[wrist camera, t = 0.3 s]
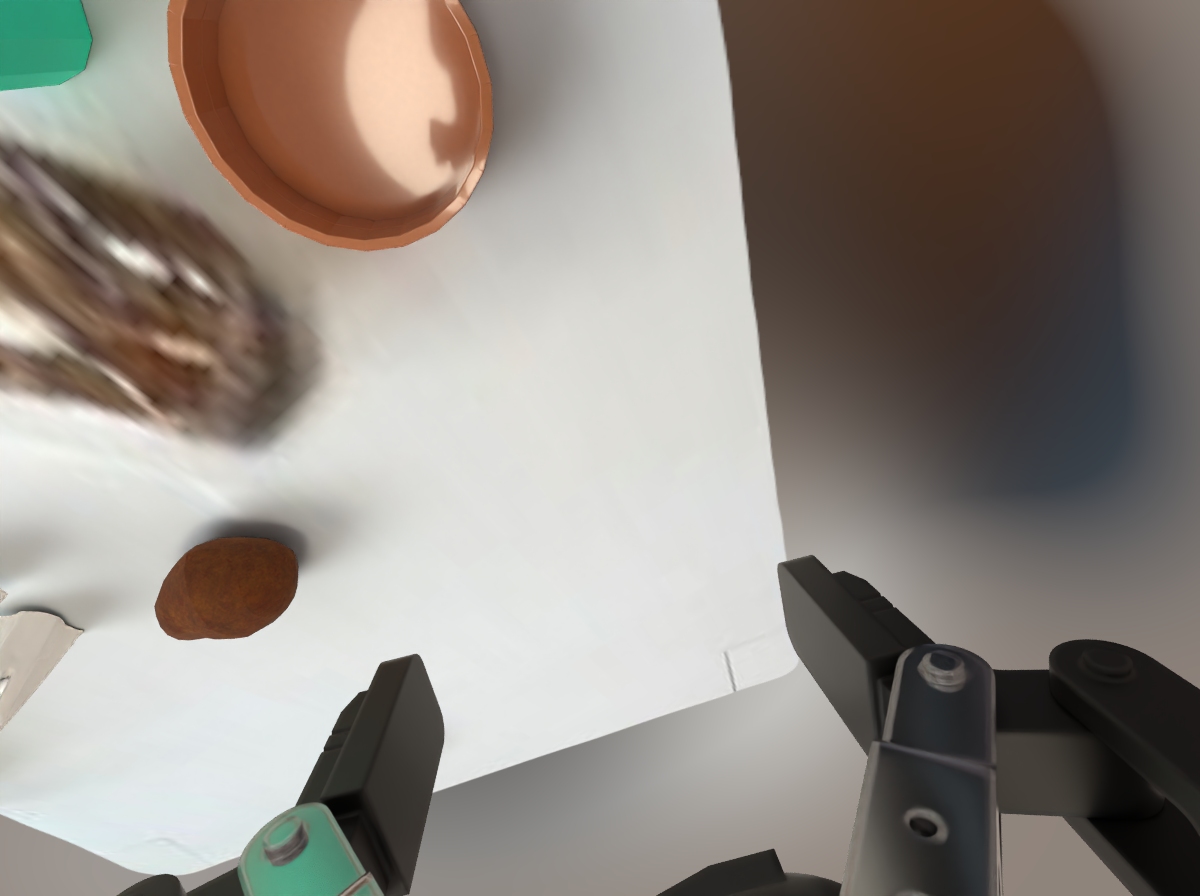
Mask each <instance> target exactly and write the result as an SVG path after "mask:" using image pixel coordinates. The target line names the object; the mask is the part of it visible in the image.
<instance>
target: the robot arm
mask: <svg viewBox="0 0 1200 896" xmlns="http://www.w3.org/2000/svg"><path fill="white" fill-rule="evenodd" d="M778 578H779V584H780V591H781V597H782V603H783V609H784V616H785V622H786V627H787V631H788V634H789V637H790V640H791V643H792V645H793V647H794V649H795V651H796V653H797V655H798V656H799V658H800V659H801V660H802V662H803V663H804V665H805V666H806V668H807V669H808V671H809V672H810V673H811V675H812V676H813V678H814V679H815V681H816V682H817V683H818V685H819V686H820V688H821V689H822V691H823V692H824V694H825V695H826V697H827V698H828V699H829V701H830V703H831V704H832V705H833V706H834V708H835V710H836V711H837V713H838V714H839V715H840V717H841V718H842V720H843V721H844V723H845V724H846V725H847V727H848V729H849V730H850V732H851V733H852V734H853V736H854V737H855V739H856V740H857V742H858V743H859V745H860V746H861V747H862V749H863V750H864V752H865V753H866V755H867V756H868V761H867V766H866V770H865V775H864V780H863V785H862V789H861V794H860V799H859V804H858V809H857V813H856V818H855V823H854V828H853V833H852V838H851V843H850V847H849V853H848V857H847V862H846V866H845V871H844V876H843V881H842V884H840V883H837V882H835V881H832V880H829V879H825V878H821V877H818V876H814V875H808V874H800V873H784V872H783V870H782V867H781V864H780V862H779V860H778V857H777V855H776V852H775V850H774V849H771V850H767V851H763V852H759V853H756V854H752V855H748V856H744V857H740V858H737V859H733V860H729V861H725V862H721V863H718V864H714V865H710V866H708V867H706V868H704V869H702V870H701V871H699V872H697V873H696V874H694V875H692V876H690V877H688V878H687V879H685V880H683V881H681V882H680V883H678V884H676V885H674V886H673V887H671V888H669V889H667V890H666V891H664V892H662V893H660V894H658V895H657V896H1003V862H1002V861H1003V860H1002V859H1003V858H1002V815H1001V813H1004V814H1024V815H1046V816H1062V817H1063V818H1064V819H1065V820H1066V821H1067V822H1068V824H1069V825H1070V826H1071V827H1072V828H1073V829H1074V830H1075V831H1076V832H1077V834H1078V835H1079V836H1080V837H1081V838H1082V839H1083V840H1084V841H1085V842H1086V844H1087V845H1088V846H1089V847H1090V848H1091V849H1092V850H1093V851H1094V852H1095V854H1096V855H1097V856H1098V857H1099V858H1100V859H1101V860H1102V861H1103V863H1104V864H1105V865H1106V866H1107V867H1108V868H1109V869H1110V870H1111V871H1112V873H1113V874H1114V875H1115V876H1116V877H1117V878H1118V879H1119V880H1120V881H1121V882H1122V884H1123V885H1124V886H1125V887H1126V888H1127V889H1128V890H1129V892H1130V893H1131V894H1132V895H1133V896H1200V689H1198V688H1197V687H1195V686H1194V685H1192V684H1191V683H1189V682H1188V681H1186V680H1185V679H1183V678H1182V677H1180V676H1179V675H1177V674H1176V673H1174V672H1173V671H1171V670H1170V669H1168V668H1167V667H1165V666H1163V665H1162V664H1160V663H1159V662H1158V661H1156V660H1154V659H1153V658H1151V657H1149V656H1148V655H1146V654H1144V653H1142V652H1140V651H1138V650H1136V649H1133V648H1130V647H1128V646H1124V645H1121V644H1117V643H1113V642H1107V641H1101V640H1089V639H1088V640H1087V639H1085V640H1073V641H1068V642H1065V643H1062V644H1060V645H1058V646H1056V647H1055V648H1054V649H1053V650H1052V651H1051V653H1050V656H1049V670H995V669H992V668H991V667H990V665H989V664H988V663H987V662H986V661H985V660H983V659H982V658H981V657H979V656H978V655H976V654H974V653H972V652H970V651H968V650H965V649H962V648H959V647H956V646H951V645H944V644H935V643H934V642H933V641H932V640H931V639H930V638H929V637H928V636H927V635H926V634H924V633H923V632H922V631H921V630H920V629H919V628H918V627H917V626H916V625H914V624H913V623H912V622H911V621H910V620H909V619H908V618H907V617H906V616H905V615H903V614H902V613H901V612H900V611H899V610H898V609H897V608H894V607H893V605H892V604H891V603H890V602H889V601H888V600H887V599H886V598H885V597H884V596H881V595H880V593H879V592H878V591H877V590H876V589H875V588H874V587H873V586H871V585H870V584H869V583H868V582H867V581H866V580H864V579H862V578H859V577H857V576H854V575H852V574H850V573H847V572H845V571H841V572H837V573H833V574H832V573H831V572H830V571H829V570H828V569H827V568H826V567H825V566H824V565H823V564H822V563H821V562H820V561H819V560H818V559H817V558H816V557H815V556H813V555H809V556H806V557H801V558H797V559H793V560H790V561H785V562H781V563H779V564H778ZM443 744H444V723H443V717H442V713H441V710H440V707H439V704H438V702H437V699H436V696H435V693H434V691H433V688H432V685H431V682H430V680H429V677H428V674H427V671H426V669H425V666H424V663H423V661H422V659H421V657H420V656H419V655H418V654H413V655H409V656H405V657H401V658H397V659H393V660H389V661H385V662H382V663H381V664H380V665H379V667H378V669H377V671H376V673H375V676H374V678H373V680H372V682H371V685H370V687H369V689H368V690H367V691H363V692H359V693H358V694H357V696H356V697H355V698H354V699H353V700H352V701H351V702H350V703H349V704H348V705H347V706H346V707H345V709H344V710H343V711H342V712H341V714H340V716H339V718H338V720H337V722H336V724H335V726H334V728H333V730H332V735H331V736H329V738H328V740H327V742H326V744H325V746H324V752H322V753H321V755H320V757H319V759H318V761H317V763H316V765H315V767H314V769H313V771H312V773H311V775H310V777H309V779H308V781H307V783H306V785H305V787H304V789H303V791H302V793H301V795H300V797H299V799H298V802H297V804H296V806H295V807H293V808H291V809H289V810H287V811H285V812H283V813H282V814H280V815H278V816H277V817H275V818H274V819H273V820H271V821H270V822H269V823H267V824H266V825H265V826H264V827H263V828H262V829H261V830H260V831H259V832H258V833H257V834H256V835H255V836H254V837H253V838H252V839H251V841H250V842H249V843H248V845H247V846H246V848H245V849H244V851H243V853H242V855H241V857H240V860H239V863H238V867H236V868H234V869H233V870H231V871H229V872H227V873H225V874H223V875H221V876H219V877H217V878H215V879H213V880H211V881H209V882H207V883H205V884H203V885H202V886H199V887H198V888H196V889H194V890H192V891H190V892H188V893H186V892H185V890H184V888H183V886H182V885H181V883H180V881H179V880H178V878H177V877H175V876H174V875H170V874H161V875H156V876H153V877H150V878H147V879H145V880H143V881H141V882H138V883H136V884H135V885H133V886H131V887H129V888H128V889H126V890H125V891H123V892H122V893H120V894H119V895H117V896H403V895H407V894H409V892H410V888H411V883H412V879H413V875H414V870H415V866H416V861H417V857H418V853H419V849H420V844H421V840H422V835H423V831H424V827H425V823H426V818H427V814H428V809H429V805H430V801H431V796H432V792H433V788H434V783H435V779H436V775H437V770H438V766H439V761H440V757H441V753H442V748H443Z"/></svg>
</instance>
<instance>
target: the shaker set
mask: <svg viewBox="0 0 1200 896" xmlns="http://www.w3.org/2000/svg"><path fill="white" fill-rule="evenodd" d="M6 596H7V592H5V591H4V590H2V589H0V603H1V602H2V601H3V600H4V599H5V598H6ZM82 631H83V630H76V629H74V628H72V627H69V626H67V625H65V624H64V621H63V620H62V619H60V617H57V616H54V615H51V614H48V613H43V612H36V611H35V612H33V611H28V612H27V611H20V612H18V614H14V615H11V616H0V693H2V695H1V696H0V731H1V730H2V729H3V728H4V726H5V725H6V724H7V723H8V722H9V721H10V720H11V719H12V718H13V717H14V715H15V714H16V713H17V712H18V711H19V710H20V708H21V707H22V706H23V705H24V704H25V703H26V701H27V700H28V699H29V698H30V697H31V695H32V694H33V693H34V692H35V691H36V689H37V688H38V687H39V686H40V685H41V683H42V682H43V681H44V680H45V679H46V677H47V676H48V675H49V674H50V672H51V671H52V670H53V669H54V667H55V666H56V665H57V664H58V662H59V661H60V660H61V659H62V657H63V656H64V655H65V653H66V652H67V651H68V650H69V649H70V647H71V646H72V645H73V644H74V642H75V641H76V639H77V638H78V637H79V636H80V635H81V634H82Z"/></svg>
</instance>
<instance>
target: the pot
mask: <svg viewBox="0 0 1200 896" xmlns="http://www.w3.org/2000/svg"><path fill="white" fill-rule="evenodd" d="M168 10H169V11H167V23H168V61H169V63H170V64H169V67H170V70H171V73H172V77H173V80H174V83H175V87H176V90H177V93H178V97H179V100H180V103H181V107H182V110H183V113H184V115H185V118H186V120H187V122H188V123H189V125H190V127H191V129H192V130H193V132H194V134H195V135H196V137H197V139H198V141H199V142H200V144H201V146H202V148H203V149H204V151H205V153H206V155H207V156H208V158H209V160H210V161H211V162H212V164H213V165H214V167H215V168H216V169H217V170H218V171H219V172H220V173H221V174H222V175H223V176H224V178H225V179H226V180H227V181H228V182H229V183H230V184H231V185H232V186H233V187H234V188H235V190H236V191H237V192H238V193H239V194H240V195H241V196H242V197H243V198H244V199H245V200H246V201H247V202H248V203H250V204H251V205H253V206H254V207H255V208H257V209H258V210H260V211H261V212H262V213H264V214H265V215H267V216H268V217H270V218H271V219H272V220H274V221H275V222H277V223H278V224H279V225H281V226H282V227H284V228H286V229H287V230H290V231H292V232H295V233H297V234H299V235H302V236H304V237H307V238H309V239H312V240H314V241H316V242H319V243H321V244H324V245H327V246H333V247H340V248H347V249H353V250H360V251H374V250H381V249H389V248H396V247H404V246H406V245H408V244H411V243H413V242H415V241H417V240H419V239H421V238H424V237H426V236H428V235H430V234H432V233H434V232H437V230H439V229H440V228H441V227H443V226H444V225H445V224H446V223H447V222H448V221H449V220H450V219H451V218H452V217H453V216H454V215H455V214H457V213H458V212H459V211H460V210H461V209H462V208H463V207H464V205H466V203H467V201H468V199H469V198H470V196H471V194H472V192H473V191H474V189H475V187H476V185H477V183H478V182H479V180H480V178H481V176H482V175H483V173H484V170H485V165H486V161H487V157H488V152H489V148H490V143H491V139H492V135H493V104H492V84H491V79H490V75H489V72H488V68H487V65H486V61H485V58H484V54H483V51H482V48H481V44H480V41H479V37H478V34H477V32H476V30H475V28H474V26H473V24H472V23H471V21H470V19H469V17H468V15H467V14H466V12H465V10H464V8H463V7H462V5H461V3H460V1H459V0H170V2H169V5H168Z"/></svg>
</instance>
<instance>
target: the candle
mask: <svg viewBox="0 0 1200 896" xmlns="http://www.w3.org/2000/svg"><path fill="white" fill-rule="evenodd" d="M91 43H92V37H91V33H90V30H89V27H88V24H87V20H86V17H85V14H84V10H83V7H82V4H81V1H80V0H0V91H3V90H13V89H23V88H32V87H42V86H51V85H60V84H61V83H63V82H65V81H66V80H68V79H70V78H72V77H73V76H75V75H77V74H78V73H80V72H82V71H83V70H85V66H86V62H87V58H88V54H89V51H90V47H91Z"/></svg>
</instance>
